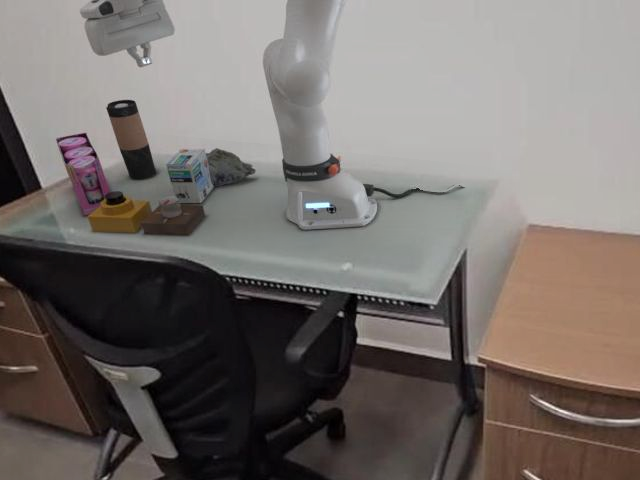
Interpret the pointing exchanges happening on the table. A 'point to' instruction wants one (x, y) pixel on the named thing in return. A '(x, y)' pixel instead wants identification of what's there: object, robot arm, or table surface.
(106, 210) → the control box
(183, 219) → the dial panel
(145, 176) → the travel mug
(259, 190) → the table surface
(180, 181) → the light bulb box
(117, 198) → the button
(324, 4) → the robot arm
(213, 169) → the mineral rock
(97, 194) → the gum box
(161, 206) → the knob
